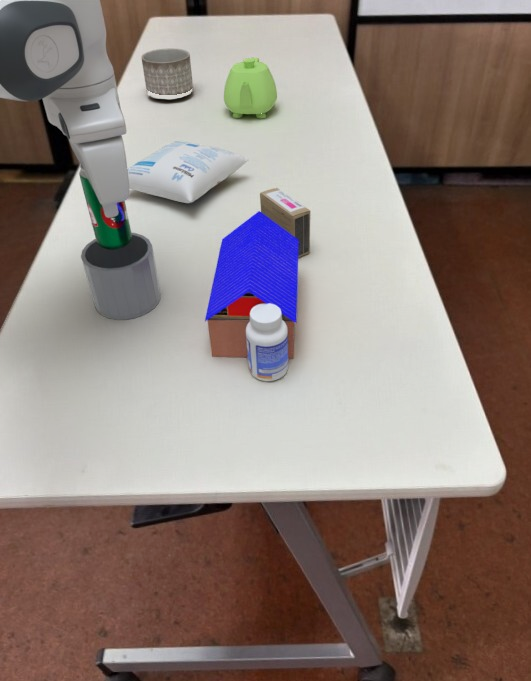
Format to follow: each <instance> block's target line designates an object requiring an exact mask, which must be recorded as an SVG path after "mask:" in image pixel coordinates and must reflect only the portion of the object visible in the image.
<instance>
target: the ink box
mask: <svg viewBox="0 0 531 681" xmlns="http://www.w3.org/2000/svg"><path fill="white" fill-rule="evenodd" d="M259 200H260V212H261V213H263V214H264V215H266V216H267V217H268V218H270V219H271V220H272V221H274V222H275V223H276V224H278V225H279V226H280V227H282V228H283V229H284V230H286V231H287V232H289V233H290V234H291V235H293V236H294V237H295V238H297V239H298V240H299V248H298V258H302V257H303V256H305V255H307V254H310V252H311V209H309V208H307V207H306V206H304V205H303V204H302V203H300V202H298V201H297V200H296V199H294V198H293V197H291V196H290V195H289V194H287V193H285V192H284V191H283V190H282V189H279V188H278V187H273V188H270V189H267V190H264V191H261V192H260V193H259Z"/></svg>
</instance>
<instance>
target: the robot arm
mask: <svg viewBox="0 0 531 681" xmlns="http://www.w3.org/2000/svg"><path fill="white" fill-rule="evenodd" d="M0 99H4V100H5V99H6V100H12V101H16V102H17V101H18V102H36V101H40V100H42V102H43V103H42V104H43V106H44V110H45V113H46V118H47V121H48V122H49V123H50V124H51V125H52V126H55V127H57V129H59V130H60V131H61V132H62V135H64V136H66V137H67V139H68V142H69V146H70V147H71V149H72V151H73V153H74V155H75V157H76V159H77V161H78V163H79V164H80V165H82V168H83V169H84V172H85V174H86V176H87V178H88V180H89V182H90V184H91V186H92V188H93V190H94V192H95V194H96V196H97V198H98V200H99V202H100V203H101V205H102V209H103V212H104V214H105V216H106V217H107V218H110V217H114V216H117V215H118V213H119V212H118V208H117V203H118V202H122V201H125V202H126V201H128V200H129V197H130V190H131V189H130V188H129V178H128V169H129V168H128V162H127V154H126V148H125V143H124V139H123V135H126V134H127V131H128V130H127V124H126V120H125V117H124V114H123V111H122V109H121V108H122V107H121V102H120V98H119V92H118V87H117V80H116V76H115V71H114V67H113V64H112V63H111V61H110V58H109V56H108V52H107V29H106V22H105V18H104V13H103V9H102V4H101V0H0ZM80 165H79V166H80Z"/></svg>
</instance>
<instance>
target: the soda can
mask: <svg viewBox="0 0 531 681" xmlns="http://www.w3.org/2000/svg"><path fill="white" fill-rule="evenodd" d="M79 168H80V170H79V172H78V176H79V180H80V183H81V187H82V191H83V195H84V198H85V203H86V207H87V210H88V214H89V218H90V222H91V226H92V230H93V235H94V237H95V238H94V239H96V242H97V244H98V245H99V246H101V247H102V248H104V249H108V250H116V249H120V248H123V247H125V246H126V245H128V244H129V242H130V241H131V239H132V233H133V232H132V230H131V223H130V219H129V215H128V210H127V205H126V201H122V202H118V203H117V208H118V212H119V213H118V215H117V216H114V217H110V218H107V217H106V216H105V214H104V212H103V209H102V205H101V203H100V202H99V200H98V198H97V196H96V194H95V192H94V190H93V188H92V186H91V184H90V182H89V180H88V178H87V176H86V174H85V172H84V169H83V168H82V165H79Z"/></svg>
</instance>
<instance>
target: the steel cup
mask: <svg viewBox="0 0 531 681" xmlns="http://www.w3.org/2000/svg"><path fill="white" fill-rule="evenodd" d="M131 233H132V239H131V241H130V242H129V244H128V245H126V246H125V247H123V248H120V249H116V250H108V249H104V248H102V247H101V246H99V245H98V244H97V242H96V238H94V239H93V240H91V241H90V242H88V243H87V244H86V245H85V246H84V247H83V248H82V251H81V254H80V259H81V262H82V266H83V269H84V273H85V276H86V281H87V284H88V287H89V291H90V294H91V297H92V301H93V304H94V306H95V310H96V311H97V312H98V313H99V314H100V315H101V316H103V317H105V318H108V319H111V320H118V321H119V320H122V321H125V320H132V319H136V318H140V317H142V316H144V315H146V314H148V313H150V312H152V310H154V309H155V308H156V307H157V306H158V304H159V303H160V301H161V294H162V293H161V287H160V286H161V285H160V280H159V275H158V270H157V264H156V260H155V254H154V248H153V244H152V242H151V240H150V239H149V238H148V237H147V236H144V235H143V234H140V233H136V232H131Z"/></svg>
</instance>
